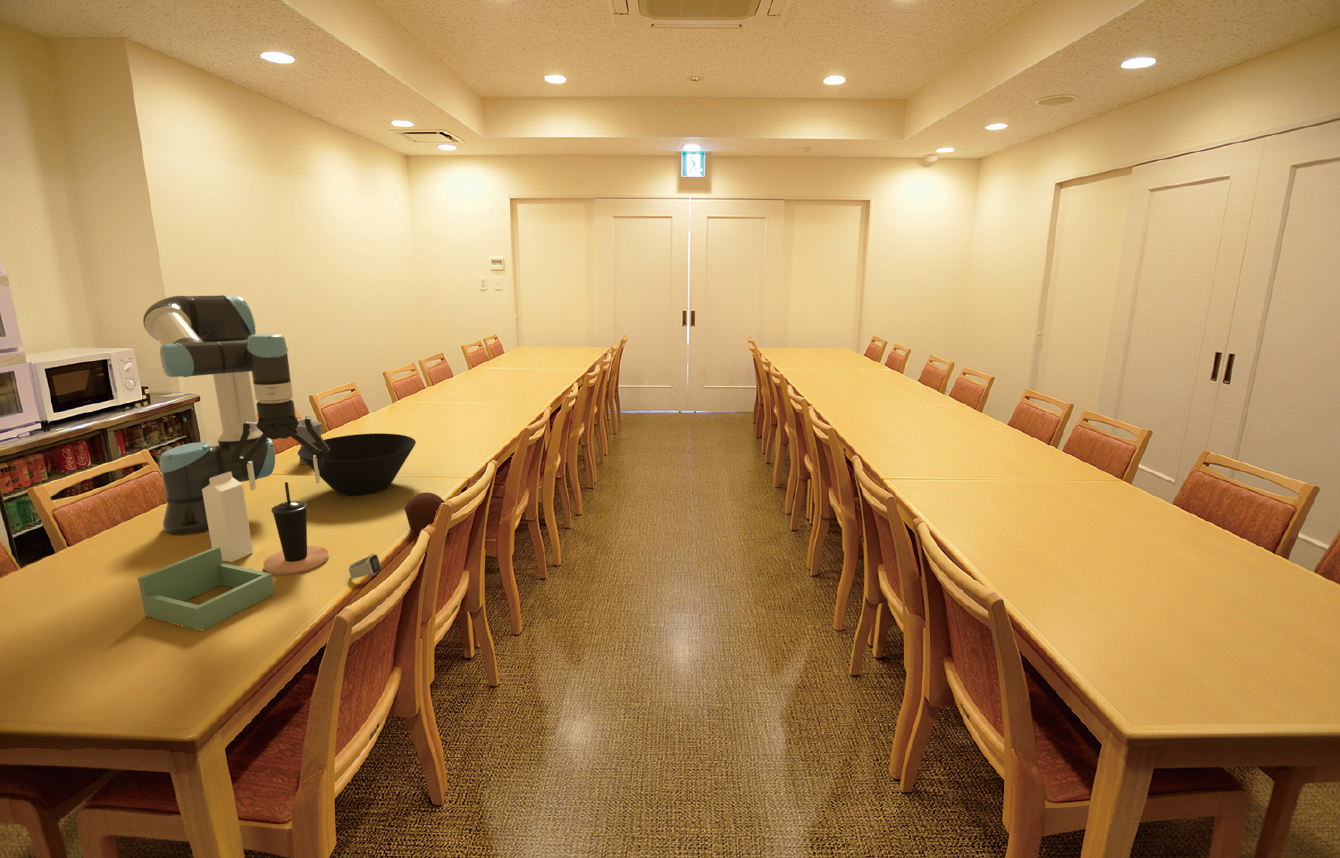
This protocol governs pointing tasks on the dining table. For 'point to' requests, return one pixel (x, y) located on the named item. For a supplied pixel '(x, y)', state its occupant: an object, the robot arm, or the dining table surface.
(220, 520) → the milk
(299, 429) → the coffeepot
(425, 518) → the muffin
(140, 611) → the dining table surface
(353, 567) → the wristwatch
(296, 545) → the drinking cup
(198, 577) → the frame
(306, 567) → the saucer
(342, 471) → the bowl
